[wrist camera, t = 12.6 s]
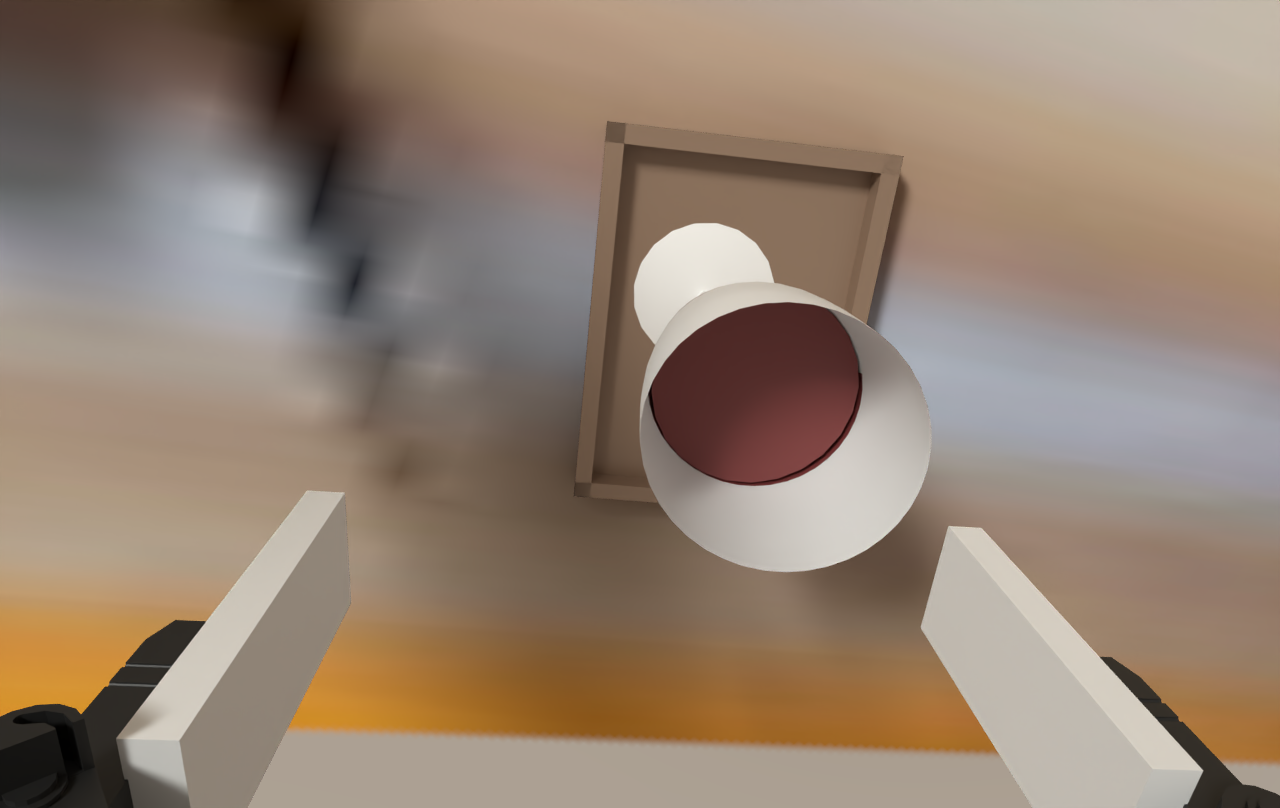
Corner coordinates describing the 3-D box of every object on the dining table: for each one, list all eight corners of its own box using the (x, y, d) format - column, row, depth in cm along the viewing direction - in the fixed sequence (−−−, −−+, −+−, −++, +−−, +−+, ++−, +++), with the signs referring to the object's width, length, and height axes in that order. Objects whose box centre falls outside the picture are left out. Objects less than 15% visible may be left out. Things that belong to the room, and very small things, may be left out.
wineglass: (701, 179, 42) (790, 235, 21) (813, 297, 44) (990, 449, 24) (593, 291, 44) (578, 442, 23) (706, 398, 46) (784, 619, 26)
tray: (607, 121, 41) (607, 121, 39) (889, 154, 42) (903, 156, 40) (575, 480, 49) (573, 496, 47) (815, 499, 50) (824, 516, 48)
